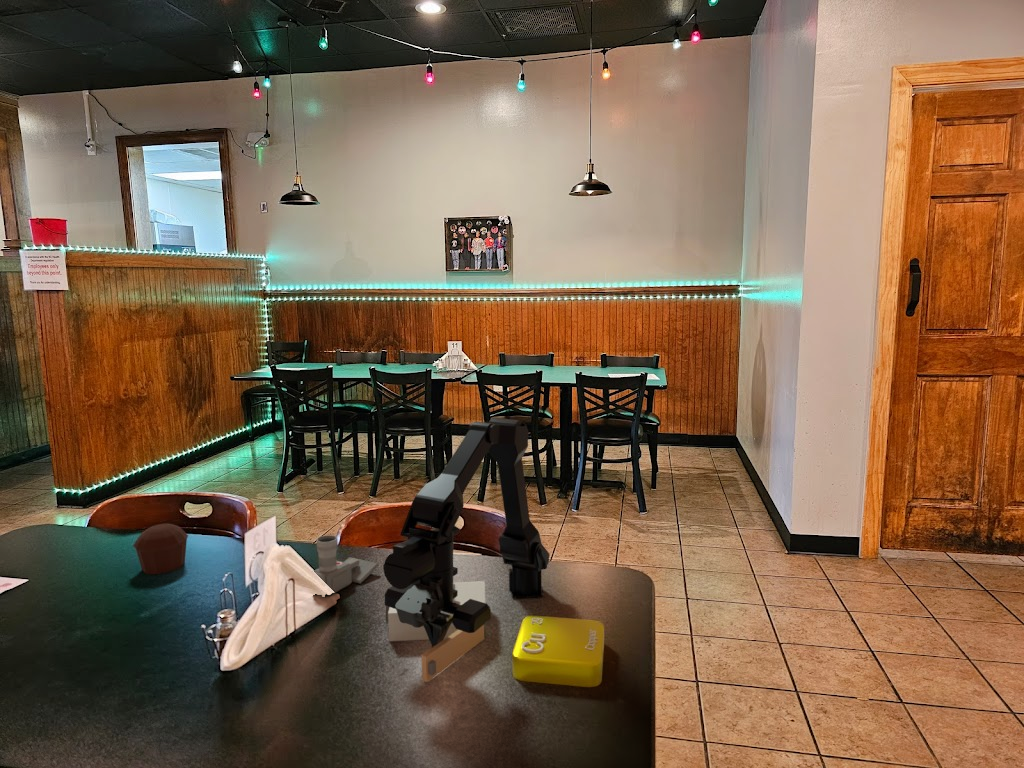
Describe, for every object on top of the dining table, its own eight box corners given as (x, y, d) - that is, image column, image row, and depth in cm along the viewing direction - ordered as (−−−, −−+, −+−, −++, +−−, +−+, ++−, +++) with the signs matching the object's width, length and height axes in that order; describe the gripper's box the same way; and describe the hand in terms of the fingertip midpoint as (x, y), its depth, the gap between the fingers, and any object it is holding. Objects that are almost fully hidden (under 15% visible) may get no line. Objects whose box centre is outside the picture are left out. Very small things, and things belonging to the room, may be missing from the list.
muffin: (158, 555, 162) (155, 517, 160) (200, 557, 160) (196, 518, 159) (124, 576, 150) (120, 535, 149) (168, 579, 149) (164, 537, 147)
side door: (483, 635, 122) (482, 612, 121) (490, 637, 121) (490, 615, 120) (422, 680, 108) (421, 655, 107) (430, 684, 107) (429, 658, 106)
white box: (485, 606, 134) (484, 579, 133) (486, 637, 122) (485, 608, 121) (391, 610, 133) (390, 583, 132) (383, 641, 121) (382, 612, 120)
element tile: (601, 690, 106) (601, 663, 105) (510, 682, 109) (509, 655, 108) (604, 641, 121) (604, 617, 120) (524, 635, 123) (524, 611, 123)
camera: (300, 540, 140) (348, 519, 153) (302, 592, 141) (350, 567, 154) (331, 547, 136) (377, 525, 149) (333, 601, 137) (379, 574, 150)
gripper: (361, 570, 108) (363, 657, 110) (454, 598, 99) (454, 692, 101) (404, 547, 118) (405, 628, 120) (492, 571, 108) (491, 658, 111)
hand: (436, 650), depth 113 cm, fingers closed
